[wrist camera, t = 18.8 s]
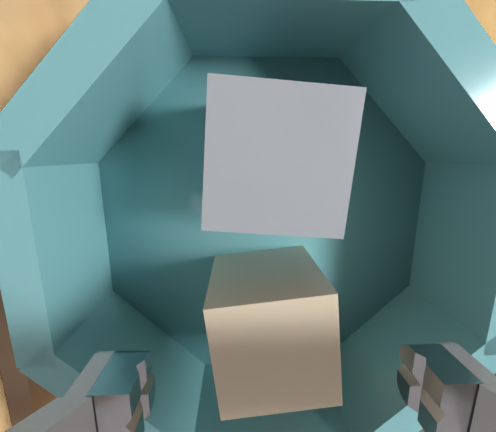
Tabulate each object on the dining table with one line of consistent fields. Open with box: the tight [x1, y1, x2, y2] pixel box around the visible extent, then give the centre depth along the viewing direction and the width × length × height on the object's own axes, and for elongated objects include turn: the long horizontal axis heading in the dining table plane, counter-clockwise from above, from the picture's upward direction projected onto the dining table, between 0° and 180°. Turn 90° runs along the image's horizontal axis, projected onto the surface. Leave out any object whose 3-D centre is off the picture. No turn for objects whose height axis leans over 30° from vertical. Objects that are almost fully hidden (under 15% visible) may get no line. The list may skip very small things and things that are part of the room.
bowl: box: [0, 0, 496, 432], centre depth 11 cm, size 16×16×5 cm
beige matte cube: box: [203, 246, 343, 421], centre depth 11 cm, size 4×4×4 cm
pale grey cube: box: [201, 73, 367, 239], centre depth 10 cm, size 4×4×4 cm
